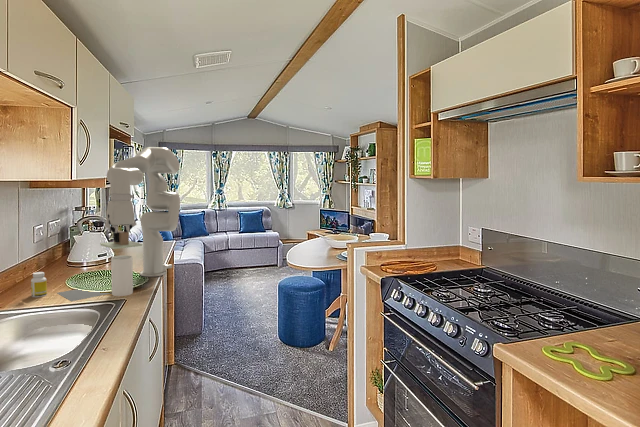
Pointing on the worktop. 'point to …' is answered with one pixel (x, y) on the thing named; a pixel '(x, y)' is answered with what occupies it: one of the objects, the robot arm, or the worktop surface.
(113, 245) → the lid
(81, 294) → the mat
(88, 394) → the worktop surface
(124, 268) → the cup
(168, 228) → the robot arm
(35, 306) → the worktop surface
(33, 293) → the supplement bottle
